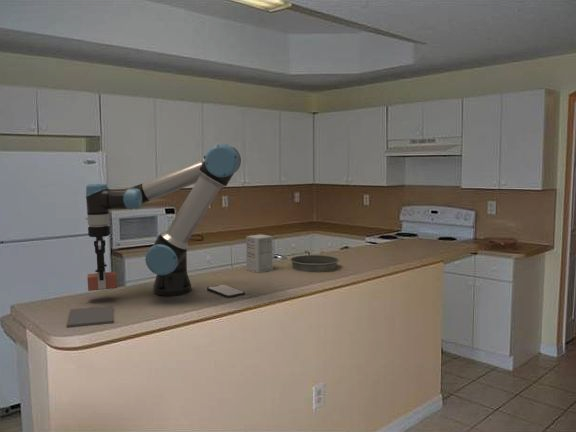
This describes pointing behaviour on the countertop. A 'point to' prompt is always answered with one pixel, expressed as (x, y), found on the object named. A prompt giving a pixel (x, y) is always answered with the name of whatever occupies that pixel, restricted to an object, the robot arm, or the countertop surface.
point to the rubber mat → (90, 316)
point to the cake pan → (314, 263)
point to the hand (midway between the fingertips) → (102, 286)
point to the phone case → (225, 291)
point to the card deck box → (110, 281)
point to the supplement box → (259, 253)
